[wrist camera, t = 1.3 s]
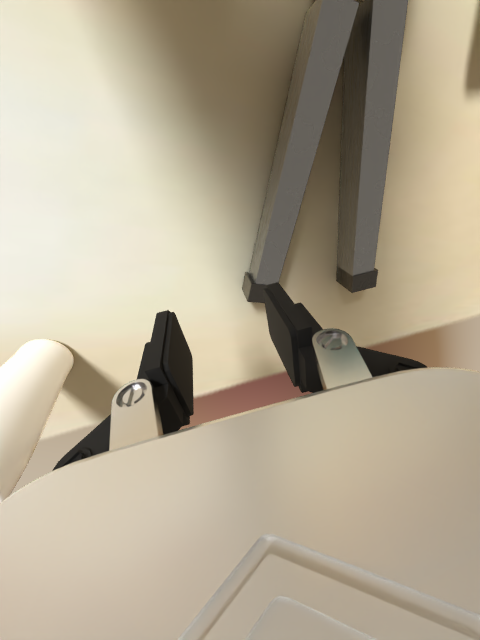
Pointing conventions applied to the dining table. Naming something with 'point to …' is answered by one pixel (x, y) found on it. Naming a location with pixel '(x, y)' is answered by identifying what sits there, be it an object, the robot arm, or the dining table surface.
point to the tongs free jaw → (299, 136)
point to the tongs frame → (367, 135)
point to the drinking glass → (28, 403)
